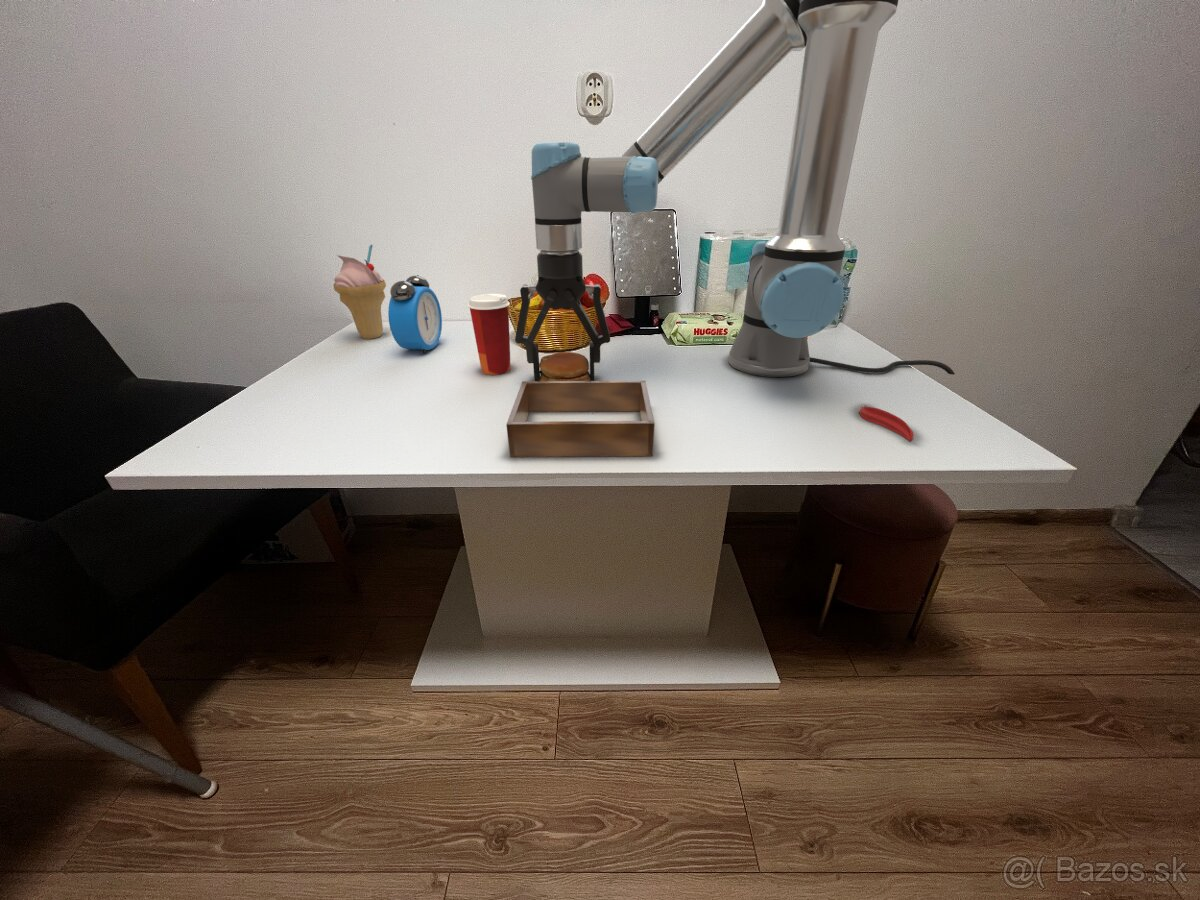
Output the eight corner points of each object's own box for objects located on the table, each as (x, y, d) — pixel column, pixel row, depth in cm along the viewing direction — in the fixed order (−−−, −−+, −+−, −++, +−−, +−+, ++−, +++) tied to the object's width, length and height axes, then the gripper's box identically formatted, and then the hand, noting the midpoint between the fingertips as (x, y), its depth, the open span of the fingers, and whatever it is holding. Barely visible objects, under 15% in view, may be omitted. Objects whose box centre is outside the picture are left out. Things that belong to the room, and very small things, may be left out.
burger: (596, 386, 92) (596, 361, 90) (546, 392, 90) (545, 367, 88) (581, 368, 101) (580, 345, 98) (534, 374, 98) (533, 351, 96)
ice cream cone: (371, 328, 128) (352, 242, 118) (405, 332, 124) (388, 244, 114) (336, 339, 119) (312, 248, 109) (371, 345, 115) (350, 251, 106)
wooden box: (644, 409, 83) (645, 380, 81) (652, 456, 70) (654, 423, 67) (524, 409, 83) (522, 381, 81) (509, 457, 70) (506, 424, 67)
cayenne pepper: (851, 407, 83) (854, 396, 82) (879, 407, 83) (882, 396, 82) (887, 441, 73) (891, 429, 72) (919, 441, 73) (924, 429, 72)
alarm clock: (422, 358, 107) (408, 284, 99) (394, 357, 107) (378, 284, 100) (446, 340, 118) (435, 272, 111) (421, 339, 119) (409, 272, 111)
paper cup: (522, 365, 102) (516, 294, 96) (504, 378, 96) (496, 303, 89) (488, 361, 105) (479, 291, 98) (468, 374, 98) (457, 300, 92)
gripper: (625, 247, 87) (623, 371, 98) (496, 248, 87) (508, 372, 98) (627, 254, 81) (625, 386, 92) (487, 255, 81) (501, 387, 92)
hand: (564, 379), depth 95 cm, fingers closed on burger, 9 cm apart
